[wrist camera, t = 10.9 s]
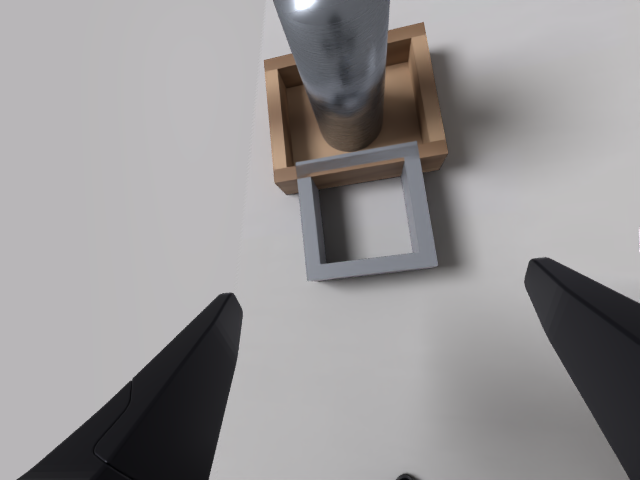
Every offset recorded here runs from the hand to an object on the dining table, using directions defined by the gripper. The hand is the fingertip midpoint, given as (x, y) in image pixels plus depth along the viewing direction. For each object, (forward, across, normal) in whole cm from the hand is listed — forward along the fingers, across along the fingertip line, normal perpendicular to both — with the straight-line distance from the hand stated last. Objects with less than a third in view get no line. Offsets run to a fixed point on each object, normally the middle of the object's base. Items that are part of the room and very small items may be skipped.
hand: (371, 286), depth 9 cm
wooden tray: (+19, 0, 0) cm, 19 cm away
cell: (+18, 0, 0) cm, 18 cm away
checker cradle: (+13, 0, +6) cm, 14 cm away
